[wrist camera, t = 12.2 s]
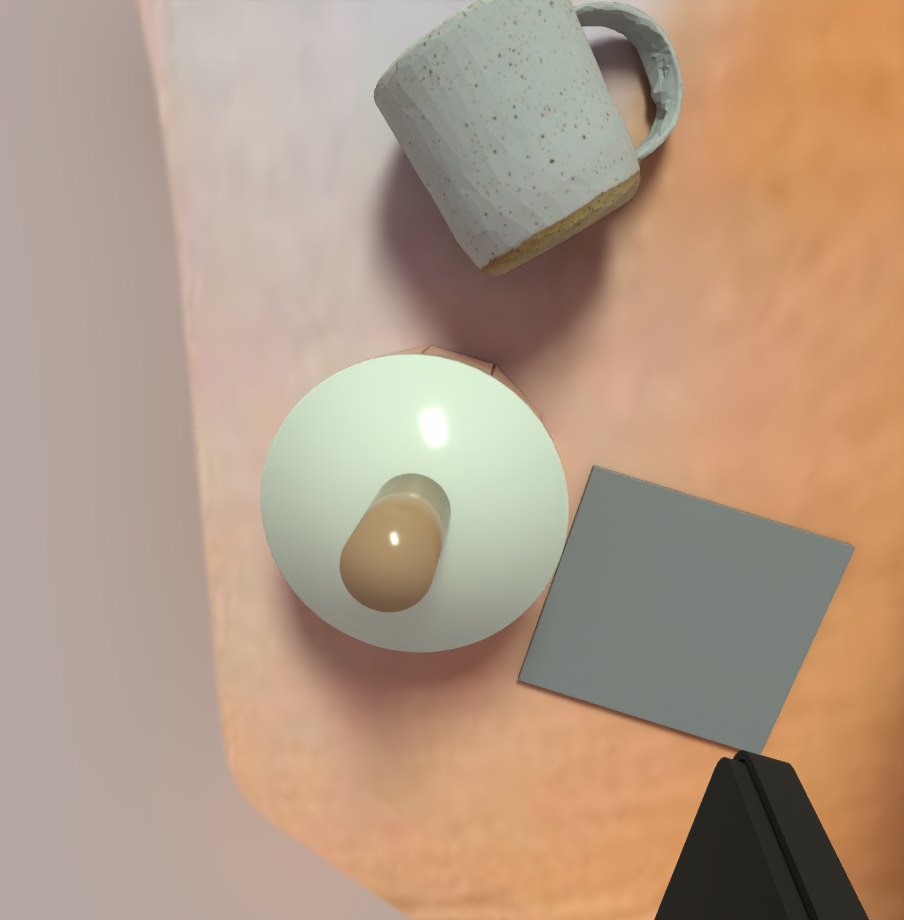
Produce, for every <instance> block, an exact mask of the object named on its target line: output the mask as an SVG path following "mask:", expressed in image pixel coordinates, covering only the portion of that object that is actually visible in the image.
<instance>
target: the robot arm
mask: <svg viewBox="0 0 904 920" xmlns="http://www.w3.org/2000/svg"><path fill="white" fill-rule="evenodd" d="M654 920H869V919H868V917H867V915H866V913H865V911H864V909H863V907H862V905H861V903H860V901H859V899H858V897H857V895H856V893H855V891H854V889H853V887H852V885H851V883H850V881H849V879H848V877H847V875H846V872H845V870H844V868H843V866H842V864H841V862H840V860H839V858H838V856H837V854H836V852H835V850H834V848H833V846H832V844H831V842H830V840H829V838H828V836H827V834H826V832H825V830H824V828H823V826H822V824H821V822H820V820H819V818H818V816H817V814H816V812H815V810H814V808H813V806H812V804H811V802H810V800H809V798H808V796H807V794H806V792H805V790H804V788H803V786H802V784H801V782H800V780H799V778H798V776H797V774H796V772H795V770H794V768H793V767H792V766H791V765H790V764H789V763H786V762H783V761H780V760H776V759H773V758H769V757H766V756H762V755H759V754H755V753H752V752H748V751H745V750H741V751H739V752H738V753H737V754H736V755H735V756H734V758H733V759H729V758H726V757H723V758H721V759H720V760H719V762H718V763H717V765H716V767H715V769H714V772H713V774H712V777H711V779H710V782H709V784H708V787H707V789H706V792H705V794H704V797H703V799H702V802H701V804H700V807H699V809H698V812H697V814H696V817H695V819H694V822H693V824H692V827H691V829H690V832H689V834H688V837H687V839H686V842H685V844H684V847H683V849H682V852H681V854H680V857H679V859H678V862H677V864H676V867H675V869H674V872H673V874H672V877H671V879H670V882H669V884H668V887H667V889H666V892H665V894H664V897H663V899H662V902H661V904H660V907H659V909H658V912H657V914H656V917H655V919H654Z"/></svg>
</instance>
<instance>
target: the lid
mask: <svg viewBox="0 0 904 920" xmlns="http://www.w3.org/2000/svg"><path fill="white" fill-rule="evenodd" d="M261 512H262V522H263V526H264V530H265V535H266V539H267V542H268V545H269V548H270V550H271V553H272V556H273V558H274V560H275V562H276V564H277V566H278V568H279V570H280V572H281V574H282V575H283V577H284V578H285V580H286V581H287V583H288V584H289V586H290V587H291V588H292V590H293V591H294V592H295V593H296V595H297V596H298V597H299V598H300V599H301V600H302V601H303V602H304V604H305V605H306V606H307V607H309V608H310V609H311V610H312V611H313V612H314V613H315V614H316V615H318V616H319V617H320V618H321V619H323V620H324V621H325V622H327V623H328V624H330V625H331V626H333V627H334V628H336V629H337V630H339V631H341V632H343V633H345V634H347V635H349V636H351V637H352V638H355V639H357V640H360V641H362V642H365V643H368V644H370V645H374V646H377V647H381V648H385V649H389V650H396V651H404V652H437V651H446V650H451V649H455V648H460V647H464V646H467V645H470V644H473V643H475V642H478V641H481V640H483V639H486V638H487V637H489V636H491V635H493V634H495V633H497V632H499V631H501V630H502V629H504V628H505V627H506V626H508V625H509V624H511V623H512V622H513V621H515V620H516V619H517V618H519V617H520V616H521V615H522V614H523V613H524V612H525V611H526V610H527V609H528V608H529V607H530V606H531V605H532V604H533V603H534V602H535V600H536V599H537V598H538V597H539V595H540V594H541V593H542V592H543V590H544V589H545V587H546V585H547V584H548V582H549V581H550V579H551V577H552V576H553V574H554V571H555V569H556V567H557V565H558V562H559V560H560V558H561V554H562V551H563V547H564V544H565V540H566V534H567V527H568V520H569V500H568V492H567V485H566V479H565V474H564V470H563V467H562V463H561V459H560V456H559V453H558V451H557V449H556V447H555V444H554V442H553V440H552V437H551V436H550V434H549V432H548V431H547V429H546V427H545V426H544V424H543V422H542V421H541V419H540V418H539V417H538V416H537V414H536V413H535V412H534V411H533V409H532V408H531V407H530V406H529V404H528V403H527V402H526V401H524V400H523V399H522V398H521V397H520V396H519V395H518V394H517V393H516V392H515V391H514V390H513V389H511V388H510V387H509V386H507V385H506V384H505V383H503V382H502V381H500V380H499V379H498V378H496V377H494V376H493V375H491V374H489V373H487V372H485V371H483V370H482V369H480V368H478V367H475V366H473V365H470V364H468V363H465V362H462V361H460V360H456V359H452V358H448V357H444V356H440V355H432V354H422V353H400V354H392V355H385V356H379V357H375V358H372V359H368V360H365V361H362V362H358V363H356V364H354V365H352V366H350V367H347V368H345V369H343V370H341V371H339V372H337V373H336V374H334V375H332V376H331V377H329V378H328V379H326V380H325V381H323V382H321V383H320V384H318V385H317V386H316V387H315V388H314V389H312V390H311V391H310V392H309V393H308V394H306V395H305V396H304V397H303V398H302V399H301V400H300V401H299V402H298V404H297V405H296V406H295V407H294V408H293V409H292V410H291V411H290V413H289V414H288V416H287V417H286V419H285V420H284V422H283V423H282V425H281V426H280V428H279V429H278V432H277V434H276V436H275V438H274V440H273V442H272V444H271V446H270V449H269V452H268V455H267V459H266V462H265V465H264V471H263V477H262V482H261Z"/></svg>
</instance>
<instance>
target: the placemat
mask: <svg viewBox="0 0 904 920" xmlns="http://www.w3.org/2000/svg"><path fill="white" fill-rule="evenodd" d="M854 549H855V547H854V546H852V545H851V544H847V543H844V542H841V541H838V540H834V539H831V538H828V537H825V536H821V535H818V534H815V533H812V532H808V531H805V530H802V529H799V528H796V527H792V526H789V525H786V524H783V523H779V522H776V521H773V520H770V519H766V518H763V517H760V516H757V515H753V514H750V513H747V512H744V511H740V510H737V509H734V508H731V507H727V506H724V505H721V504H718V503H715V502H711V501H708V500H705V499H702V498H698V497H695V496H692V495H689V494H685V493H682V492H679V491H676V490H672V489H669V488H666V487H663V486H659V485H656V484H653V483H650V482H647V481H643V480H640V479H637V478H634V477H630V476H627V475H624V474H621V473H617V472H614V471H611V470H608V469H604V468H601V467H598V466H595V465H593V468H592V470H591V473H590V476H589V479H588V482H587V484H586V487H585V490H584V493H583V496H582V499H581V501H580V504H579V507H578V510H577V513H576V515H575V518H574V521H573V524H572V527H571V530H570V532H569V535H568V538H567V541H566V544H565V547H564V549H563V552H562V555H561V558H560V561H559V563H558V566H557V569H556V572H555V575H554V578H553V580H552V583H551V586H550V589H549V592H548V594H547V597H546V600H545V603H544V606H543V609H542V611H541V614H540V617H539V620H538V623H537V625H536V628H535V631H534V634H533V637H532V640H531V642H530V645H529V648H528V651H527V654H526V656H525V659H524V662H523V665H522V668H521V671H520V673H519V680H520V681H523V682H526V683H530V684H533V685H536V686H539V687H542V688H546V689H549V690H552V691H555V692H558V693H562V694H565V695H568V696H571V697H574V698H578V699H581V700H584V701H587V702H590V703H594V704H597V705H600V706H603V707H606V708H609V709H613V710H616V711H619V712H622V713H625V714H629V715H632V716H635V717H638V718H641V719H645V720H648V721H651V722H654V723H657V724H661V725H664V726H667V727H670V728H673V729H677V730H680V731H683V732H686V733H689V734H693V735H696V736H699V737H702V738H705V739H709V740H712V741H715V742H718V743H721V744H725V745H728V746H731V747H734V748H737V749H741V750H745V751H748V752H752V753H755V754H759V755H761V753H762V751H763V748H764V746H765V744H766V742H767V740H768V737H769V735H770V733H771V731H772V729H773V727H774V724H775V722H776V720H777V718H778V716H779V713H780V711H781V709H782V707H783V705H784V702H785V700H786V698H787V696H788V694H789V692H790V689H791V687H792V685H793V683H794V681H795V678H796V676H797V674H798V672H799V670H800V668H801V665H802V663H803V661H804V659H805V657H806V654H807V652H808V650H809V648H810V646H811V643H812V641H813V639H814V637H815V635H816V633H817V630H818V628H819V626H820V624H821V622H822V619H823V617H824V615H825V613H826V611H827V609H828V606H829V604H830V602H831V600H832V598H833V595H834V593H835V591H836V589H837V587H838V584H839V582H840V580H841V578H842V576H843V574H844V571H845V569H846V567H847V565H848V563H849V560H850V558H851V556H852V554H853V552H854Z"/></svg>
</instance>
